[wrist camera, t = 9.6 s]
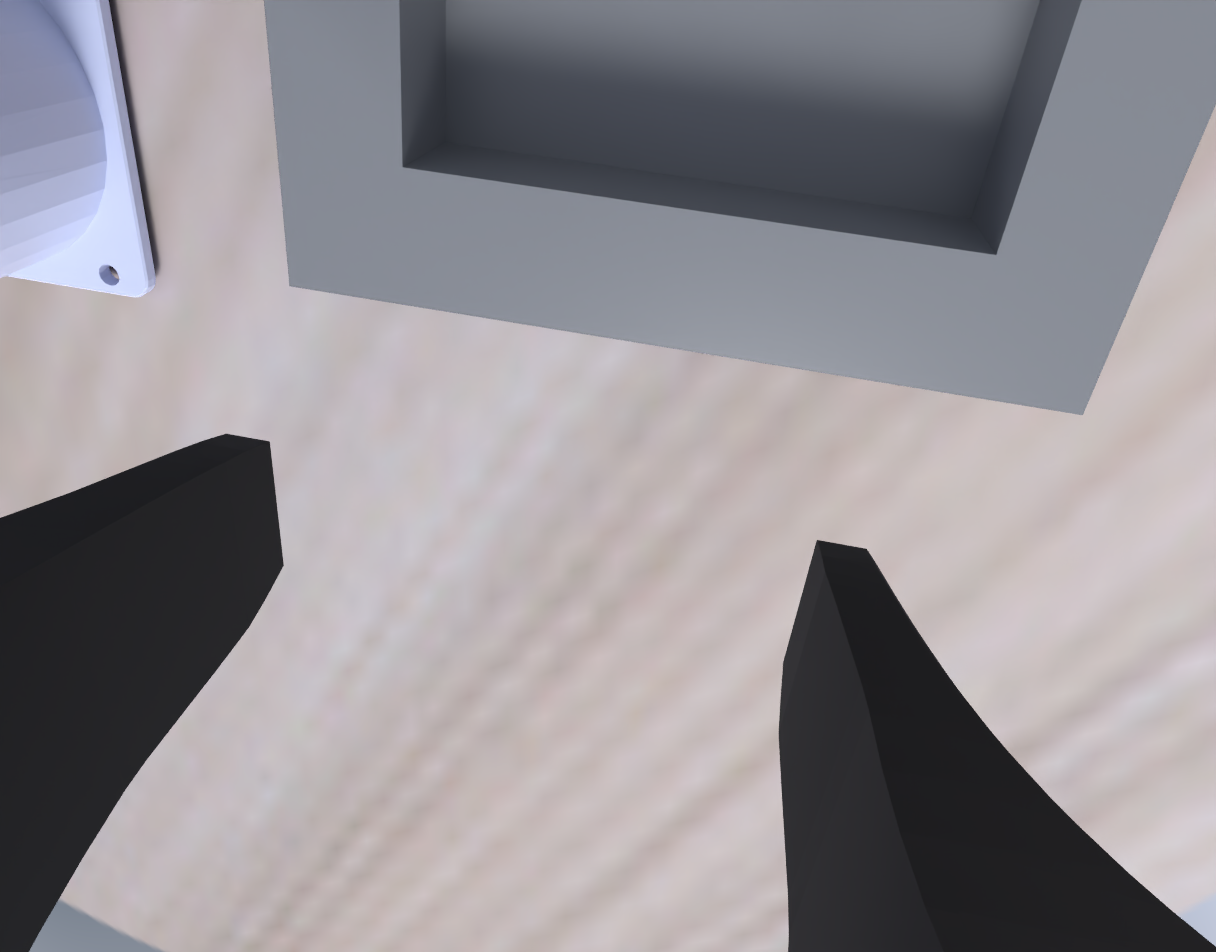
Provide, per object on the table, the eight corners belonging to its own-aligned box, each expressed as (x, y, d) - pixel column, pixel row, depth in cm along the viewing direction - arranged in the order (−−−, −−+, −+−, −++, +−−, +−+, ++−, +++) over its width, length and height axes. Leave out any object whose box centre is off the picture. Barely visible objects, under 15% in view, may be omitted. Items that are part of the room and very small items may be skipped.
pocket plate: (349, 245, 21) (289, 286, 19) (312, -465, 15) (214, -549, 12) (1044, 353, 20) (1083, 414, 17) (1330, -383, 13) (1456, -459, 11)
